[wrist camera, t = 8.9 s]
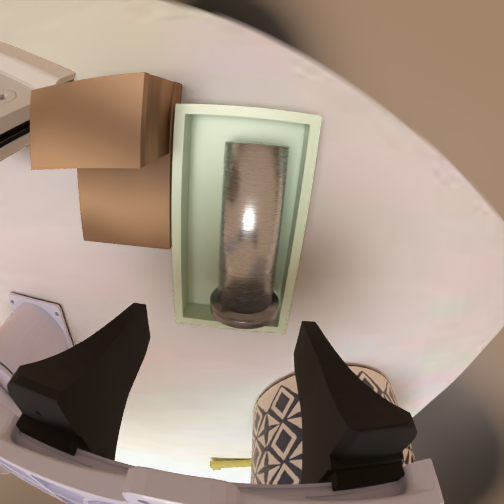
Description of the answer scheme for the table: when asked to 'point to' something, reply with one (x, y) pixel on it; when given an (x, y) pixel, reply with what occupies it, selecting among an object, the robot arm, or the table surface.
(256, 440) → the planter
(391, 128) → the table surface
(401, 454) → the robot arm
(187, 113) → the tray
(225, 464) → the key
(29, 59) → the white curved plastic device
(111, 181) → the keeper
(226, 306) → the pin
